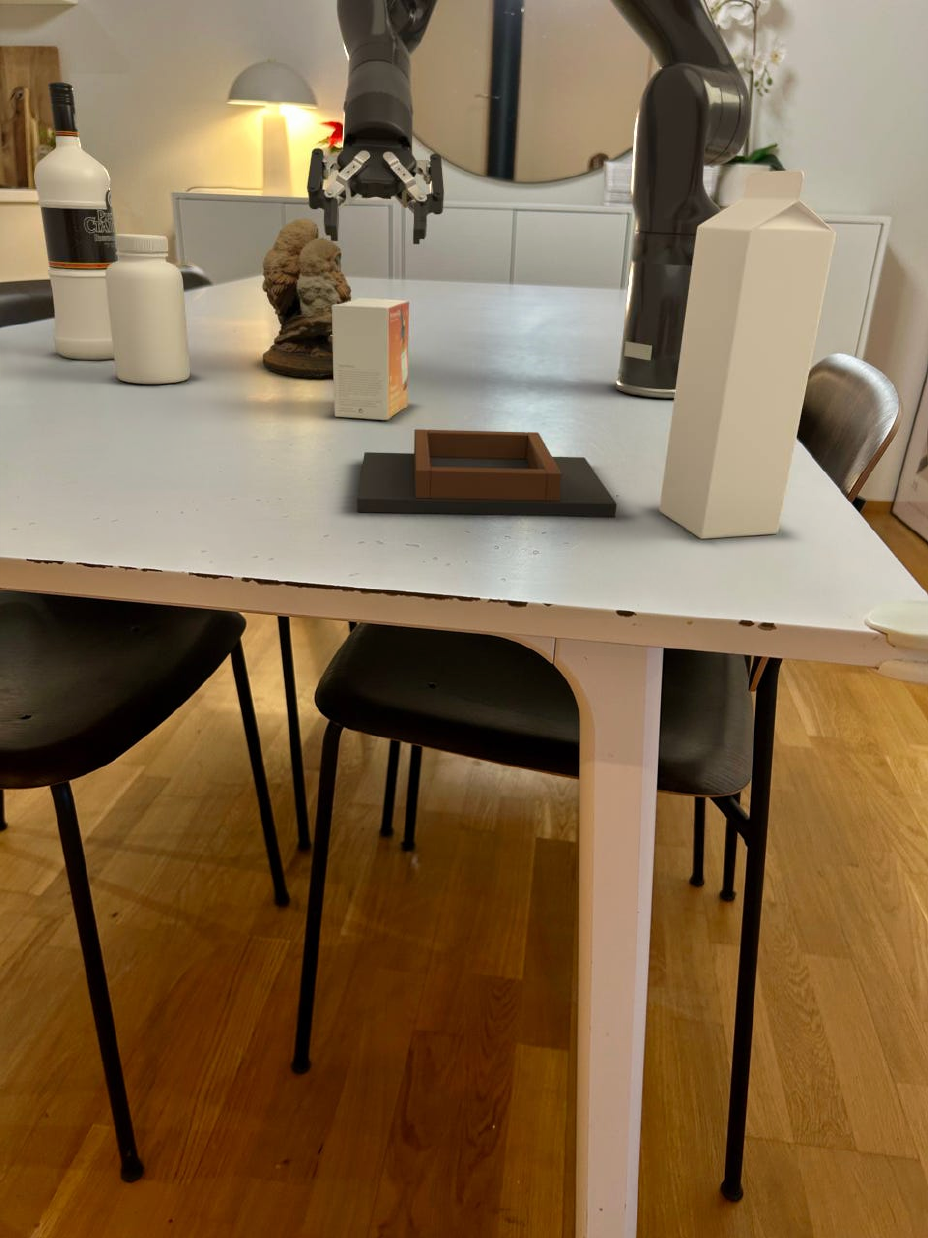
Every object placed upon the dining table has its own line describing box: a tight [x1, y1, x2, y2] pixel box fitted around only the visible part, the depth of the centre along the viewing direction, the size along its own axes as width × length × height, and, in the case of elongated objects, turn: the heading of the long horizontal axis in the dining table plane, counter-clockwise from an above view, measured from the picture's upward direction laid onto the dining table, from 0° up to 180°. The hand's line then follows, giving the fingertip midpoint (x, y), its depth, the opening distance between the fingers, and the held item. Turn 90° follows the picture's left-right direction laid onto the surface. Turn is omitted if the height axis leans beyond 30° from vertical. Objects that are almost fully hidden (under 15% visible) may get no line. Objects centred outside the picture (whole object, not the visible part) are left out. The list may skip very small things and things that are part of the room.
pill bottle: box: [105, 233, 191, 385], centre depth 99 cm, size 8×8×15 cm
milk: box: [658, 170, 837, 540], centre depth 58 cm, size 6×6×22 cm
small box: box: [332, 297, 410, 421], centre depth 89 cm, size 8×6×10 cm
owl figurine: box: [261, 218, 352, 378], centre depth 109 cm, size 18×12×17 cm, turn 28°
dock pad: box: [356, 428, 617, 518], centre depth 68 cm, size 18×12×3 cm
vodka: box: [33, 81, 119, 361], centre depth 108 cm, size 9×9×30 cm
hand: (375, 236), depth 93 cm, fingers open, 8 cm apart
